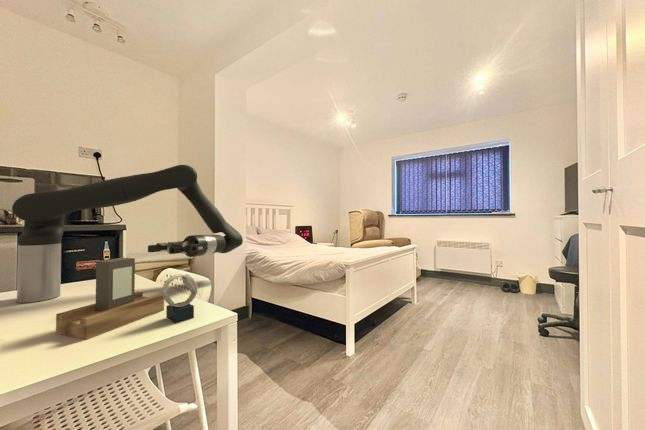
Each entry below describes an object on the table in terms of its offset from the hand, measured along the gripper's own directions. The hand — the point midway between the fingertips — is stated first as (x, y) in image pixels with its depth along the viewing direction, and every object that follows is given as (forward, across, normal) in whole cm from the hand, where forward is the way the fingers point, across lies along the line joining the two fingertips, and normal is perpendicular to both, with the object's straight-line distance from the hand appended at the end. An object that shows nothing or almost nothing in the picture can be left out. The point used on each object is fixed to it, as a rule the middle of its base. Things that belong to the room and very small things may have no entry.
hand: (159, 249), depth 76 cm
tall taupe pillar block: (+13, +2, +13) cm, 18 cm away
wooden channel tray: (+13, +2, +16) cm, 21 cm away
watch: (+7, +16, +16) cm, 24 cm away
